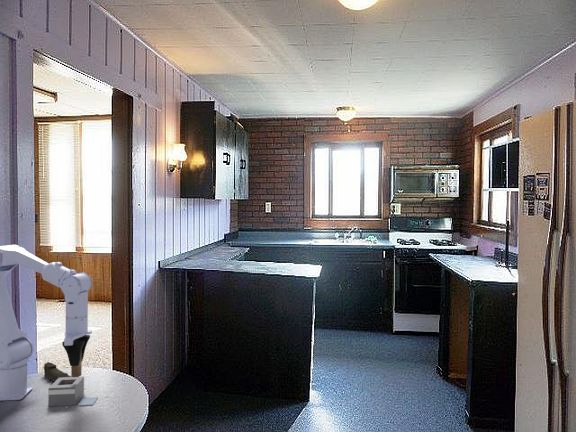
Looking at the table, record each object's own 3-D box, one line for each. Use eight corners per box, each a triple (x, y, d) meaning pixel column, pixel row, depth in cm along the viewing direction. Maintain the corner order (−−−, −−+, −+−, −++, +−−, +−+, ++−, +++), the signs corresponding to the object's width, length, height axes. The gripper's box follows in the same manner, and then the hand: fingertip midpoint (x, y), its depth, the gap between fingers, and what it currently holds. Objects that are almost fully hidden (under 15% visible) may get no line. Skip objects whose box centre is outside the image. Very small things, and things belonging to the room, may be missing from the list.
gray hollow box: (48, 406, 122) (48, 388, 122) (58, 394, 130) (58, 377, 130) (74, 405, 123) (75, 387, 123) (83, 393, 131) (84, 376, 131)
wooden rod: (70, 377, 124) (70, 345, 124) (73, 374, 127) (73, 343, 127) (79, 377, 125) (80, 345, 125) (82, 373, 127) (82, 342, 127)
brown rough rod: (76, 388, 135) (77, 373, 135) (63, 392, 132) (63, 376, 132) (54, 373, 148) (54, 359, 148) (41, 376, 145) (41, 362, 145)
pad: (77, 406, 122) (77, 405, 122) (83, 398, 127) (83, 397, 127) (92, 405, 123) (92, 404, 123) (97, 398, 128) (97, 397, 128)
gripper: (83, 321, 119) (83, 371, 119) (98, 310, 134) (98, 355, 134) (56, 322, 118) (55, 373, 118) (73, 311, 132) (73, 356, 132)
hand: (76, 363), depth 126 cm, fingers closed on wooden rod, 3 cm apart
